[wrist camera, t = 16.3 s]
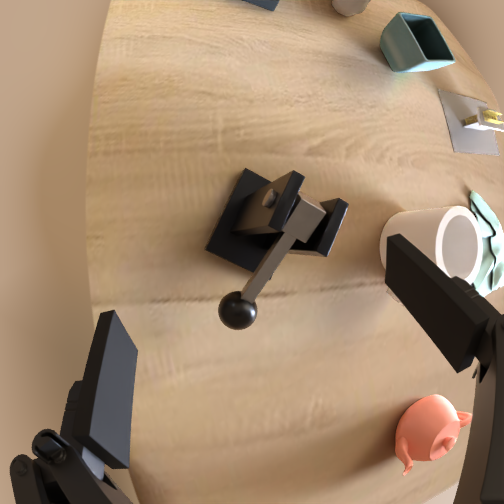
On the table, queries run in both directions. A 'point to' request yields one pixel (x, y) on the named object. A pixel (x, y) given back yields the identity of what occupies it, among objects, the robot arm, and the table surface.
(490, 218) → the cloth
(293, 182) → the switch bracket
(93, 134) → the table surface
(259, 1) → the control block
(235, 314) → the lever
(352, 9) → the salt shaker
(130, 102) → the table surface
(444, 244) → the mug
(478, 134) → the platform
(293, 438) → the table surface
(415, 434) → the teapot
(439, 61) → the flower pot
